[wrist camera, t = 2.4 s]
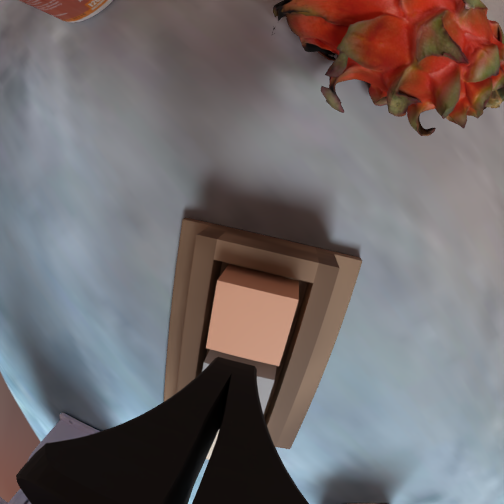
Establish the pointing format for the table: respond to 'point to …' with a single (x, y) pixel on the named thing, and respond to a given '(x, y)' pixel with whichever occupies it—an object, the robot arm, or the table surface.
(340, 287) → the keypad board
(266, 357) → the key terracotta
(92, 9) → the pill bottle
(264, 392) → the key slate
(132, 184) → the table surface
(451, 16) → the dragon fruit
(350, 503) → the lighter
